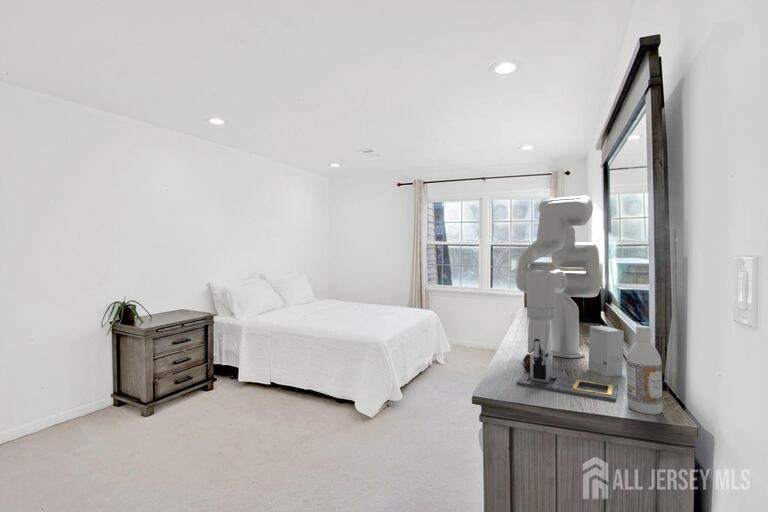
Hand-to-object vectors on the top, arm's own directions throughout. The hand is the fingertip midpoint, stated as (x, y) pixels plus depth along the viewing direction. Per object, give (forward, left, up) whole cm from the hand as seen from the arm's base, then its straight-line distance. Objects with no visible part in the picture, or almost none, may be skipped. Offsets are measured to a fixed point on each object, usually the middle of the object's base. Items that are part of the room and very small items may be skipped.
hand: (541, 375), depth 110 cm
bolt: (-15, -6, -3) cm, 17 cm away
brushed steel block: (0, 0, -2) cm, 2 cm away
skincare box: (-21, +15, -3) cm, 26 cm away
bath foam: (+5, +25, -3) cm, 25 cm away
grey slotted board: (0, +7, -3) cm, 7 cm away
